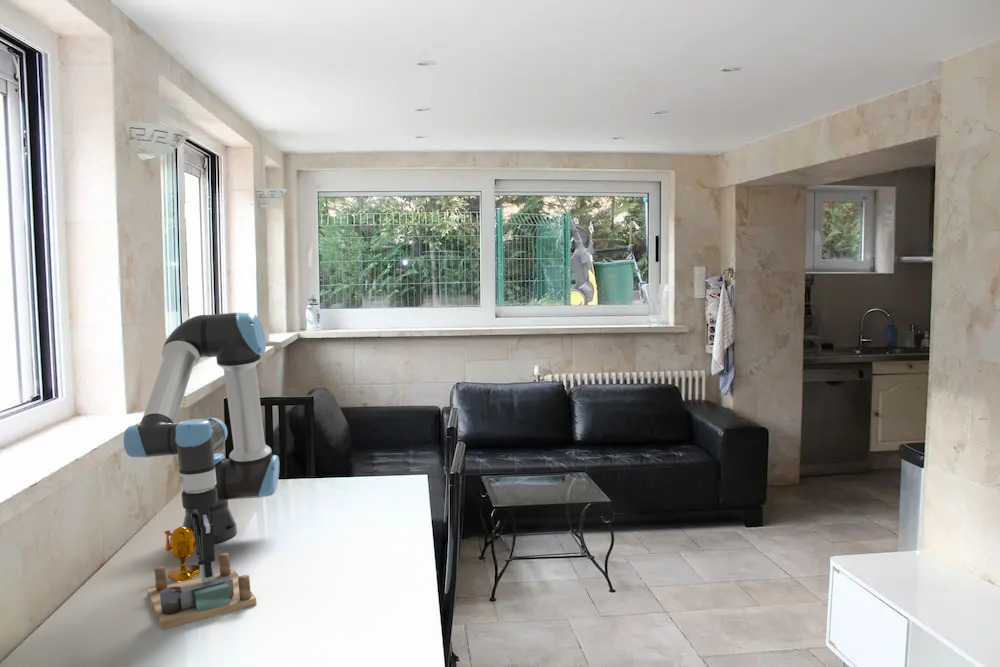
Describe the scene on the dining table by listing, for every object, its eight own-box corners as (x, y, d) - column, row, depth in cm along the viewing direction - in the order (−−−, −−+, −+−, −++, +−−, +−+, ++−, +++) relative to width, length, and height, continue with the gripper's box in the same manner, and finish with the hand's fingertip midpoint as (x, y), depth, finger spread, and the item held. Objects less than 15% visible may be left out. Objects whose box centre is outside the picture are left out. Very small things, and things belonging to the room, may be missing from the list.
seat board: (147, 595, 188) (145, 569, 187) (234, 574, 198) (231, 549, 197) (162, 629, 169) (159, 600, 168) (256, 604, 179) (254, 576, 179)
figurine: (205, 563, 207) (201, 518, 206) (201, 578, 197) (197, 531, 195) (170, 568, 205) (165, 523, 203) (164, 584, 194) (160, 536, 193)
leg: (163, 616, 172) (161, 596, 171) (159, 609, 175) (158, 590, 175) (234, 596, 180) (233, 578, 179) (229, 590, 183) (228, 572, 183)
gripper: (176, 485, 182) (186, 584, 184) (186, 498, 171) (197, 603, 173) (210, 479, 186) (219, 575, 188) (222, 491, 175) (232, 594, 177)
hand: (208, 588), depth 181 cm, fingers closed
